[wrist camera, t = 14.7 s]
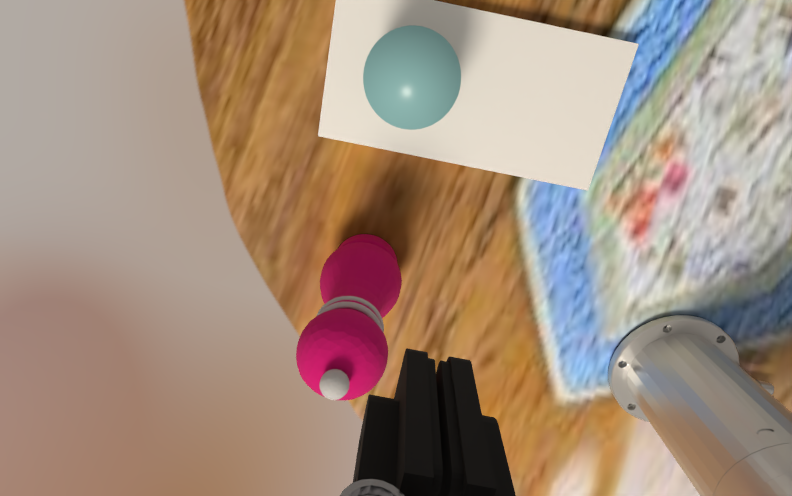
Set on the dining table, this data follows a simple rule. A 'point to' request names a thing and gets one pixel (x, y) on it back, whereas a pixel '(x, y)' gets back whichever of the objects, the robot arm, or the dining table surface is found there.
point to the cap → (412, 77)
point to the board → (486, 90)
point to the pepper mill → (350, 320)
